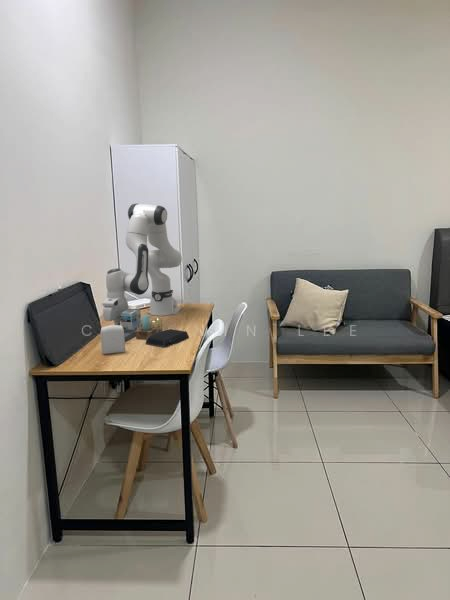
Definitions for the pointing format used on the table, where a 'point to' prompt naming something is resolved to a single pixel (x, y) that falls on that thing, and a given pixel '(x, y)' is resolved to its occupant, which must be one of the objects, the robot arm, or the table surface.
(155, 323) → the dog
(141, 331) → the socket block
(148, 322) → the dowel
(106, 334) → the photo printer
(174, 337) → the external hard drive
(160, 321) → the dog
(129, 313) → the light bulb box
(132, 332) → the tray
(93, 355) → the table surface
